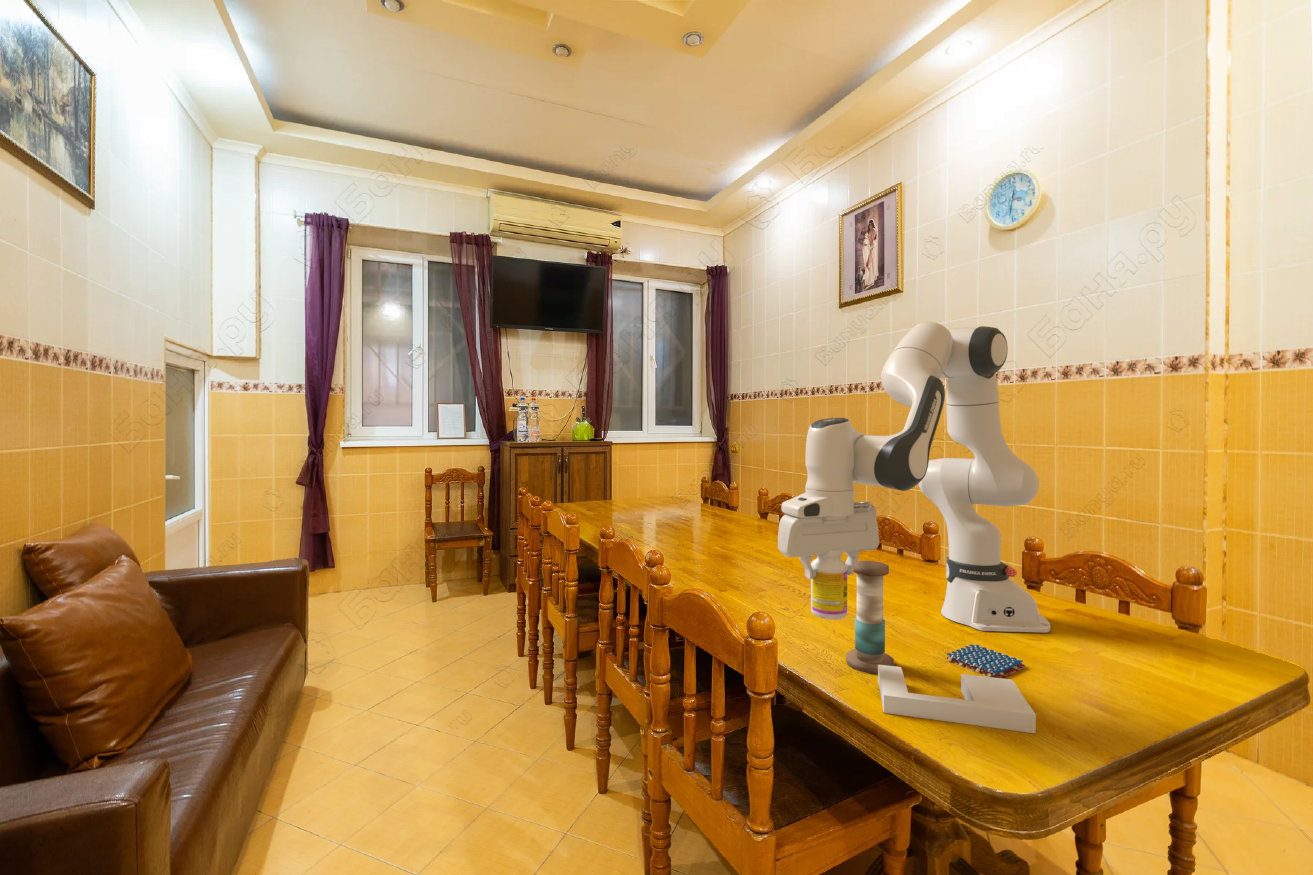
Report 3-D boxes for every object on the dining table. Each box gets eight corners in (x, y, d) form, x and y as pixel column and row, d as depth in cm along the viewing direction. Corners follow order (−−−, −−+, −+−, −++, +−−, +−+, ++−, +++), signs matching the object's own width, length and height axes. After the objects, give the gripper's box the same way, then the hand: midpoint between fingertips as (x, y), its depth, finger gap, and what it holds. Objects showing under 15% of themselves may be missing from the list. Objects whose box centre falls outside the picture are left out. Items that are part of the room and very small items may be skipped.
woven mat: (998, 684, 104) (998, 673, 103) (944, 662, 113) (944, 653, 113) (1028, 670, 109) (1028, 660, 109) (973, 651, 118) (973, 641, 118)
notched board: (1011, 696, 98) (1011, 679, 98) (1035, 733, 87) (1035, 714, 86) (878, 680, 105) (878, 664, 104) (883, 712, 93) (883, 695, 93)
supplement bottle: (849, 621, 102) (849, 552, 101) (811, 619, 103) (812, 551, 103) (845, 609, 108) (845, 544, 108) (809, 607, 110) (810, 543, 109)
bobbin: (891, 656, 114) (891, 560, 114) (896, 676, 106) (896, 572, 105) (845, 651, 117) (845, 558, 116) (846, 670, 109) (846, 569, 108)
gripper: (865, 498, 111) (864, 567, 112) (773, 504, 105) (773, 576, 106) (886, 503, 105) (886, 575, 106) (791, 509, 99) (791, 585, 100)
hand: (829, 576), depth 106 cm, fingers closed on supplement bottle, 7 cm apart
